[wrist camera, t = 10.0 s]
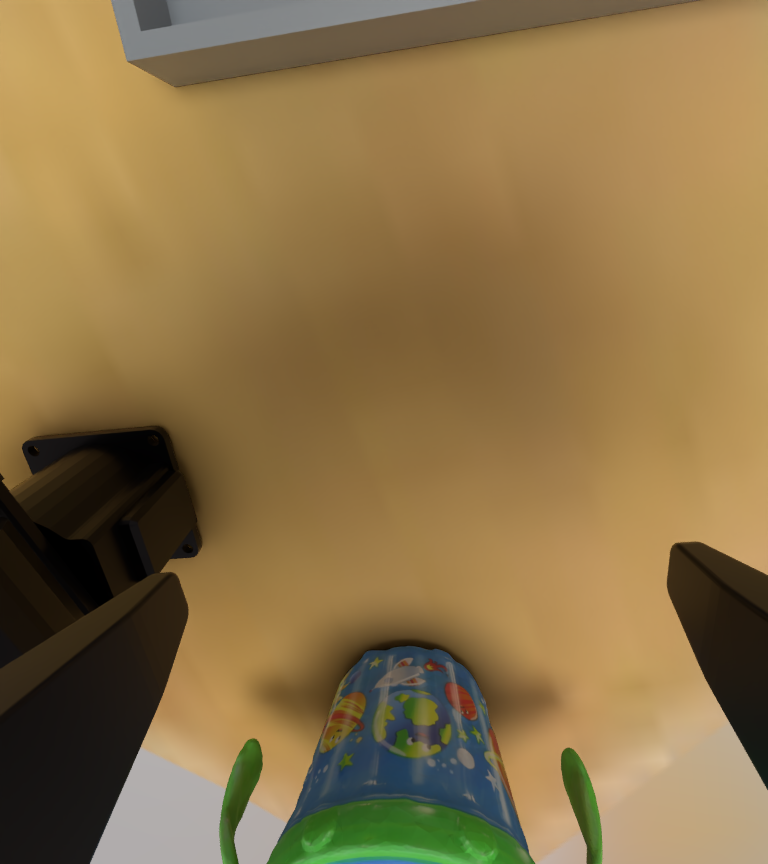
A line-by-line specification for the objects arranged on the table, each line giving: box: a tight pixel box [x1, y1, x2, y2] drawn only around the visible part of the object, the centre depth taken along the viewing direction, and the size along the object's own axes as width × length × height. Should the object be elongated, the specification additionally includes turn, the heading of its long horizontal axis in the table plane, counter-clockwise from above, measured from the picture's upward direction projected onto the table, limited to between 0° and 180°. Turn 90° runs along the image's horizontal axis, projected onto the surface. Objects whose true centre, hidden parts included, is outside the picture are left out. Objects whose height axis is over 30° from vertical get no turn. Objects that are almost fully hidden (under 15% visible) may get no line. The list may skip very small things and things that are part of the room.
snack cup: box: [219, 646, 602, 864], centre depth 22 cm, size 16×10×10 cm
